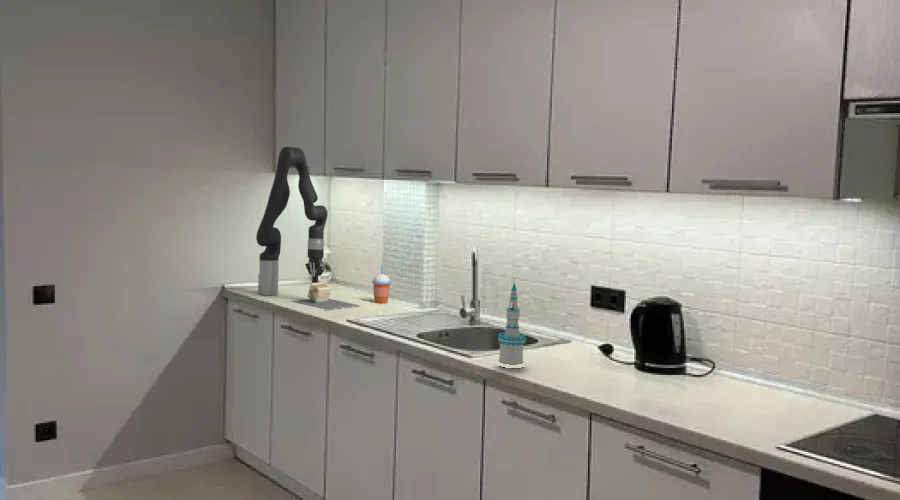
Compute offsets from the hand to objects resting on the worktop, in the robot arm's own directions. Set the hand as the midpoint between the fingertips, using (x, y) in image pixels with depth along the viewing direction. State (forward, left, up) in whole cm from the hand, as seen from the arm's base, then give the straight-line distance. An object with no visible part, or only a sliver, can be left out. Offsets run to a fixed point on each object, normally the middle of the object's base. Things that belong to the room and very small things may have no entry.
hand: (314, 284), depth 408 cm
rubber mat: (+8, 0, -9) cm, 11 cm away
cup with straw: (+18, +26, -9) cm, 33 cm away
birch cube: (+2, 0, -7) cm, 7 cm away
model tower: (+141, -25, -9) cm, 144 cm away
